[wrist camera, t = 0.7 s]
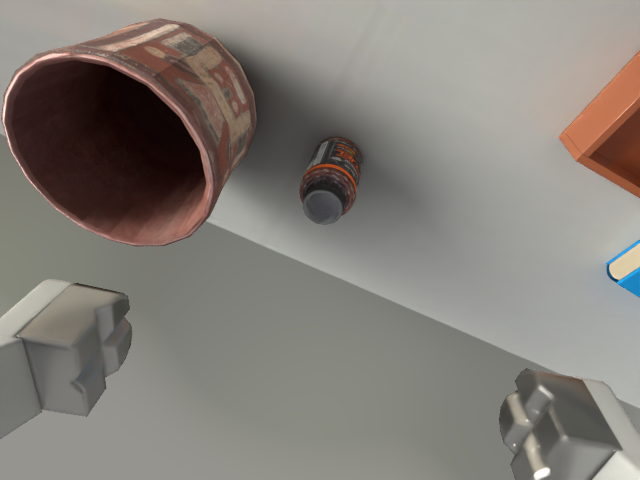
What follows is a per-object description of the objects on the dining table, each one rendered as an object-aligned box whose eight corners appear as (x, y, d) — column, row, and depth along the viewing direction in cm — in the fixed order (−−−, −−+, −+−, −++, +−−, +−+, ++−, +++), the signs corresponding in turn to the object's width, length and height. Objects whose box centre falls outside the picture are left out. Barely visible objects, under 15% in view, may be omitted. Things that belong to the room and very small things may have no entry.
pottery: (223, 188, 55) (159, 279, 41) (101, 100, 50) (-18, 168, 36) (302, 85, 45) (255, 158, 31) (161, -36, 41) (29, -16, 26)
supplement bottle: (373, 155, 49) (365, 206, 40) (343, 189, 52) (330, 243, 43) (332, 124, 48) (315, 170, 39) (304, 162, 51) (282, 212, 42)
